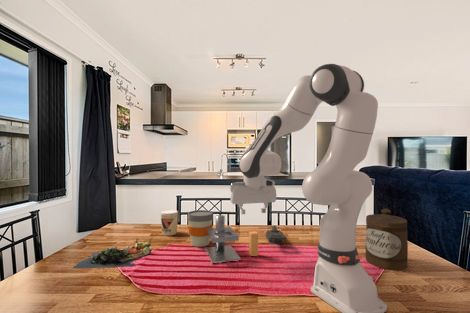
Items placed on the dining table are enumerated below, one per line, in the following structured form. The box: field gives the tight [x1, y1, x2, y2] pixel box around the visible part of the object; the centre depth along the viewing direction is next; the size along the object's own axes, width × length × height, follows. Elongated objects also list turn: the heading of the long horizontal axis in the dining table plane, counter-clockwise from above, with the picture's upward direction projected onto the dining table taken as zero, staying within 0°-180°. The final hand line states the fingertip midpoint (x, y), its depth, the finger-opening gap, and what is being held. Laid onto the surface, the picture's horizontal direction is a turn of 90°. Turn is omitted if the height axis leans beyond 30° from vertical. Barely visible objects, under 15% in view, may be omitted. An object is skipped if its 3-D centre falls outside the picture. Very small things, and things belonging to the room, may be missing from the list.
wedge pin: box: [248, 230, 259, 257], centre depth 112 cm, size 3×3×10 cm
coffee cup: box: [160, 209, 179, 237], centre depth 142 cm, size 9×9×12 cm
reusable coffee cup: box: [187, 209, 214, 247], centre depth 127 cm, size 13×13×15 cm
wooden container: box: [365, 207, 409, 271], centre depth 106 cm, size 15×15×22 cm
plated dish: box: [72, 238, 153, 269], centre depth 111 cm, size 35×28×7 cm
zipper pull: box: [265, 225, 287, 245], centre depth 129 cm, size 9×7×25 cm
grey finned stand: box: [204, 214, 242, 264], centre depth 112 cm, size 16×12×16 cm
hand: (253, 213), depth 112 cm, fingers open, 8 cm apart
